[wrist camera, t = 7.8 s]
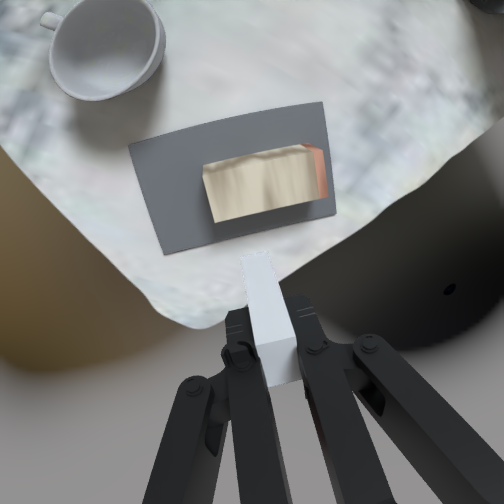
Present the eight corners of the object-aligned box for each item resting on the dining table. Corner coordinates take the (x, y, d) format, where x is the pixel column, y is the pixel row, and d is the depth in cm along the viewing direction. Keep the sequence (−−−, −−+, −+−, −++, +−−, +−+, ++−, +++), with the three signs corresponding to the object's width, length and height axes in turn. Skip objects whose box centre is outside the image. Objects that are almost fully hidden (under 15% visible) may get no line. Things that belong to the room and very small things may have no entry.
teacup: (191, 46, 28) (186, 31, 21) (123, 118, 30) (99, 125, 23) (108, -19, 22) (85, -42, 15) (46, 52, 24) (10, 47, 17)
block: (203, 165, 34) (308, 142, 34) (213, 206, 36) (314, 183, 36) (202, 176, 29) (322, 150, 30) (214, 222, 32) (328, 197, 32)
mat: (321, 101, 32) (322, 101, 32) (335, 212, 39) (336, 213, 39) (128, 145, 32) (128, 145, 31) (164, 253, 38) (164, 254, 38)
